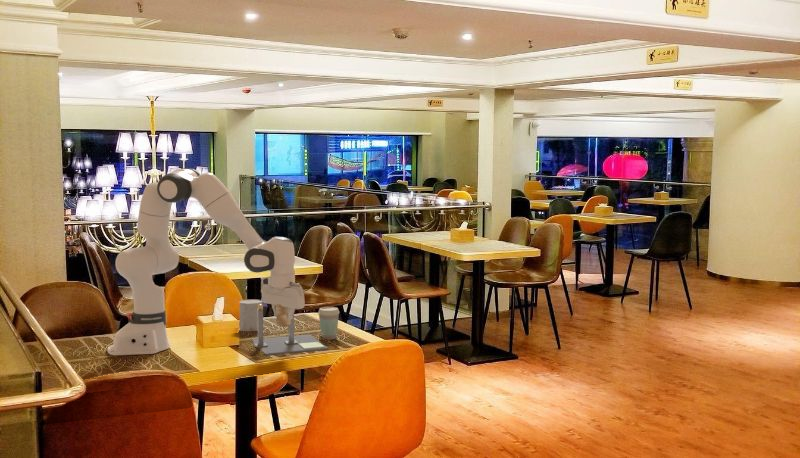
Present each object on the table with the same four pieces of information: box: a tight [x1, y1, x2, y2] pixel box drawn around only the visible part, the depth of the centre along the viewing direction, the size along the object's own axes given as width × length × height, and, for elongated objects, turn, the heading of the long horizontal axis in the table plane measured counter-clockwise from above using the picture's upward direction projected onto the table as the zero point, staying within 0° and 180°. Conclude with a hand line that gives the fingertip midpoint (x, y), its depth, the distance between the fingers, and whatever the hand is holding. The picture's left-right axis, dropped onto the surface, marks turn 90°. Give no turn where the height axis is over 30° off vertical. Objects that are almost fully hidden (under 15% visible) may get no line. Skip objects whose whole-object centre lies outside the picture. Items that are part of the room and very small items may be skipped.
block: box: [276, 304, 291, 327], centre depth 306 cm, size 4×4×8 cm
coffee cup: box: [317, 306, 340, 341], centre depth 332 cm, size 8×8×12 cm
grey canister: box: [238, 298, 264, 332], centre depth 345 cm, size 10×10×12 cm
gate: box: [253, 303, 298, 349], centre depth 317 cm, size 16×4×16 cm, turn 112°
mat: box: [251, 334, 329, 357], centre depth 320 cm, size 24×24×1 cm
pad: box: [299, 341, 326, 349], centre depth 316 cm, size 8×8×1 cm
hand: (283, 317), depth 306 cm, fingers closed on block, 5 cm apart
